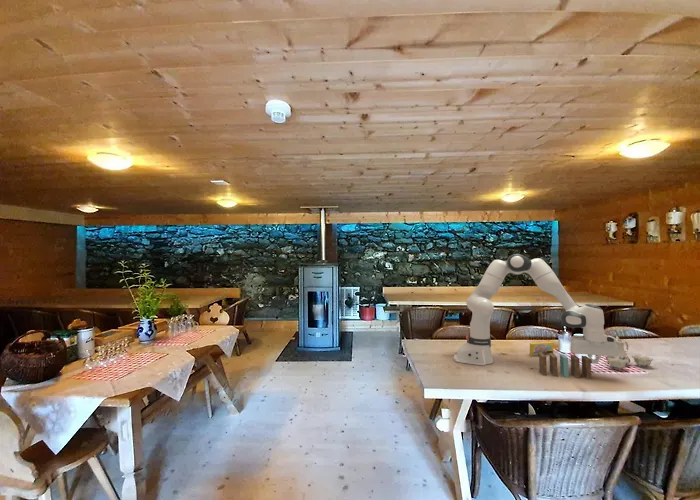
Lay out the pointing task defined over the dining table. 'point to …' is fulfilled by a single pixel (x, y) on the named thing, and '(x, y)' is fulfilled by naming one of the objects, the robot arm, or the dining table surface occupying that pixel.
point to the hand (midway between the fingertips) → (594, 363)
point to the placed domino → (564, 365)
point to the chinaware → (626, 358)
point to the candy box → (541, 348)
